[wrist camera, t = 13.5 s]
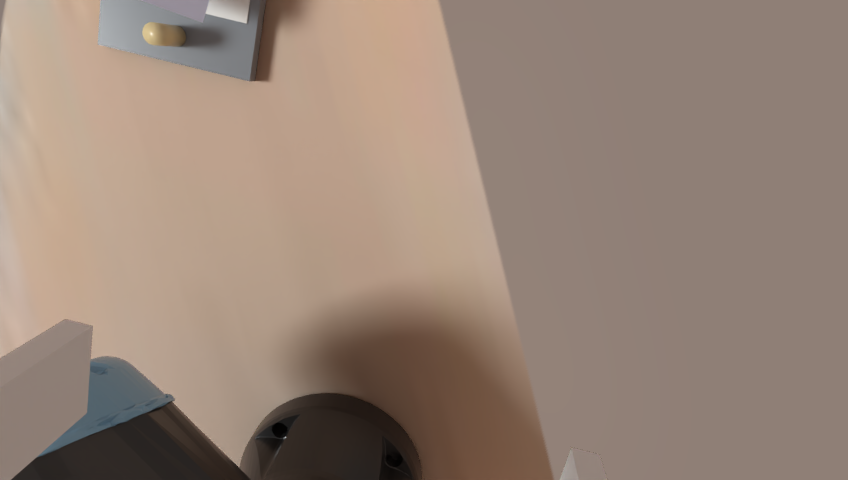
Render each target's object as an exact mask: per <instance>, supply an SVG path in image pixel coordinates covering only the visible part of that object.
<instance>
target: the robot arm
mask: <svg viewBox="0 0 848 480" xmlns="http://www.w3.org/2000/svg"><path fill="white" fill-rule="evenodd" d="M92 330H93V326H91V325H87V324H83V323H79V322H75V321H71V320H67V319H65V320H63V321H61V322H60V323H58V324H56V325H55V326H53V327H51V328H50V329H48V330H46V331H45V332H43V333H41V334H40V335H38V336H37V337H35V338H33V339H32V340H30V341H28V342H27V343H25V344H23V345H22V346H20V347H18V348H17V349H15V350H13V351H12V352H10V353H8V354H7V355H5V356H3V357H2V358H0V480H422V471H421V465H420V460H419V457H418V454H417V451H416V449H415V447H414V445H413V443H412V441H411V440H410V438H409V437H408V435H407V434H406V432H405V431H404V430H403V429H402V427H401V426H400V425H399V424H398V423H397V422H396V421H395V420H393V419H392V418H391V417H390V416H389V415H387V414H386V413H384V412H383V411H382V410H380V409H378V408H377V407H375V406H373V405H371V404H369V403H367V402H364V401H362V400H359V399H356V398H352V397H348V396H344V395H337V394H314V395H307V396H303V397H299V398H296V399H293V400H290V401H288V402H286V403H284V404H282V405H280V406H279V407H277V408H276V409H274V410H273V411H272V412H271V413H270V414H268V415H267V416H266V417H265V418H264V420H263V421H262V422H261V423H260V425H259V426H258V428H257V429H256V431H255V432H254V434H253V436H252V437H251V439H250V441H249V442H248V444H247V446H246V448H245V451H244V453H243V456H242V459H241V463H240V468H239V467H238V466H237V465H236V464H235V463H234V462H232V461H231V460H230V459H229V458H228V457H227V456H226V455H225V454H224V453H223V452H222V451H221V450H220V449H219V448H218V447H217V446H216V445H215V444H214V443H213V442H212V441H211V440H210V439H209V438H208V437H207V436H206V435H205V434H204V433H203V432H202V431H201V430H199V429H198V428H197V427H196V426H195V425H194V424H193V423H192V422H191V421H190V419H189V418H188V417H187V416H186V415H185V414H184V413H183V412H182V411H181V410H180V409H179V408H178V407H177V406H176V405H175V404H174V403H173V402H172V401H174V400H175V398H174V397H173V396H172V395H170V394H164V393H163V392H162V391H161V390H160V389H159V388H157V387H156V386H155V385H154V384H153V383H152V382H151V381H150V380H148V379H147V378H146V377H145V376H144V375H143V374H142V373H140V372H139V371H138V370H137V369H136V368H135V367H134V366H132V365H131V364H130V363H128V362H127V361H125V360H123V359H120V358H116V357H109V356H106V357H98V358H94V359H91V345H92ZM560 480H608V479H607V477H606V473H605V470H604V467H603V463H602V460H601V457H600V455H599V454H596V453H592V452H588V451H584V450H580V449H576V448H573V447H571V449H570V452H569V455H568V458H567V461H566V463H565V466H564V469H563V472H562V475H561V477H560Z"/></svg>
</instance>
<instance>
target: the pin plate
mask: <svg viewBox="0 0 848 480" xmlns="http://www.w3.org/2000/svg"><path fill="white" fill-rule="evenodd" d="M265 4H266V0H209V3H208V6H207V10H206V14H205V17H204V21H203V23H202V22H199V21H196V20H194V19H191V18H188V17H185V16H182V15H180V14H177V13H174V12H171V11H169V10H166V9H163V8H160V7H158V6H155V5H152V4H149V3H147V2H144V1H141V0H101V1H100V17H99V34H98V45H102V46H106V47H111V48H115V49H119V50H123V51H127V52H131V53H135V54H139V55H144V56H148V57H152V58H156V59H160V60H164V61H168V62H172V63H176V64H181V65H185V66H189V67H193V68H197V69H201V70H205V71H209V72H214V73H218V74H222V75H226V76H230V77H234V78H238V79H242V80H247V81H255V76H256V69H257V62H258V54H259V47H260V40H261V33H262V25H263V18H264V11H265Z"/></svg>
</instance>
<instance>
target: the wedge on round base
mask: <svg viewBox="0 0 848 480" xmlns="http://www.w3.org/2000/svg"><path fill="white" fill-rule="evenodd" d="M141 1H144V2H147V3H149V4H152V5H155V6H158V7H160V8H163V9H166V10H169V11H171V12H174V13H177V14H180V15H182V16H185V17H188V18H191V19H194V20H196V21H199V22H202V23H203V21H204V17H205V14H206V10H207V6H208V3H209V0H141Z"/></svg>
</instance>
